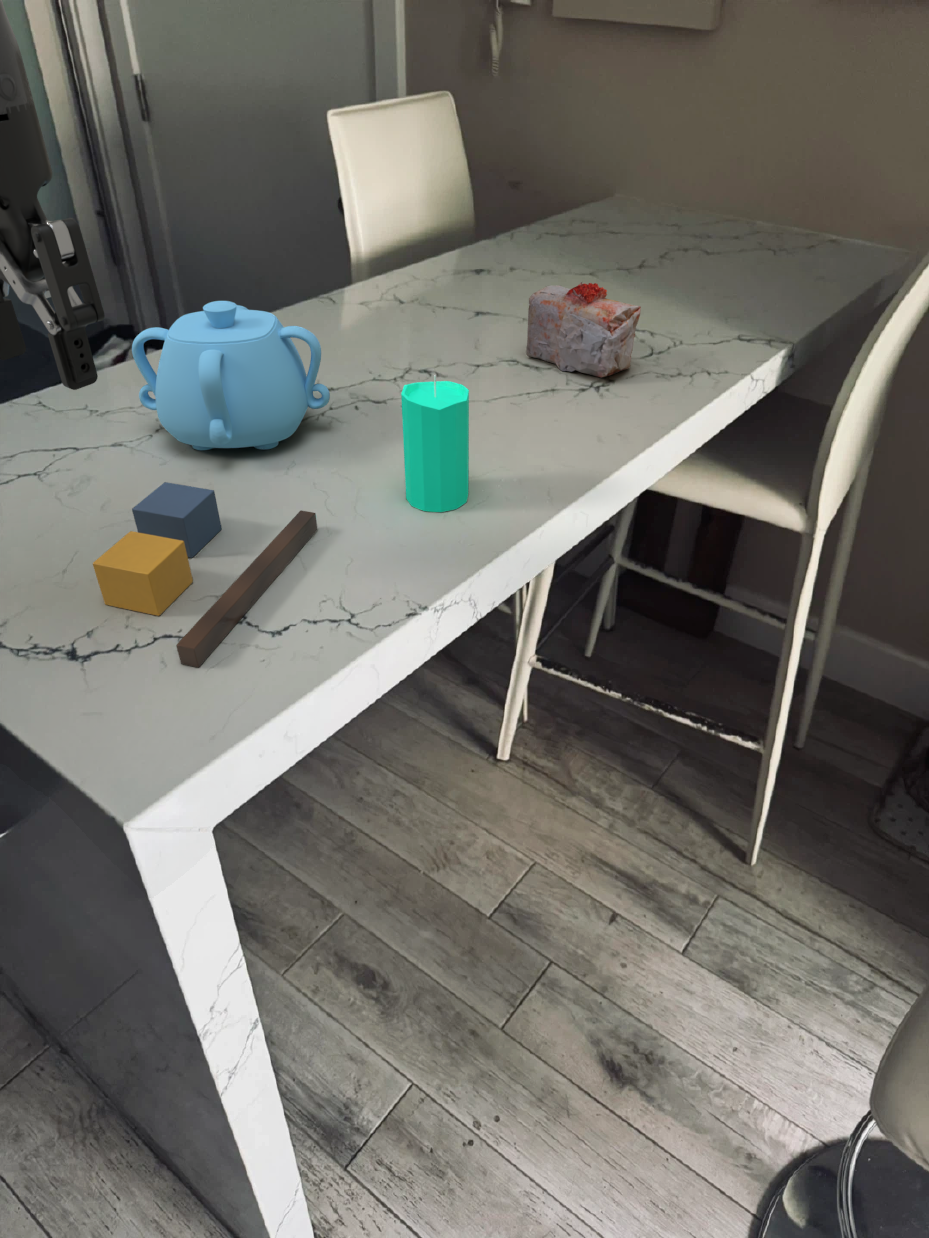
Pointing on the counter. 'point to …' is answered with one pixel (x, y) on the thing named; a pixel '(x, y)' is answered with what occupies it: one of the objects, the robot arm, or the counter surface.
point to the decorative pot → (230, 377)
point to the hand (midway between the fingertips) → (45, 370)
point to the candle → (436, 444)
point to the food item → (581, 329)
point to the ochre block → (143, 573)
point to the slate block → (179, 515)
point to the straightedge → (245, 590)
